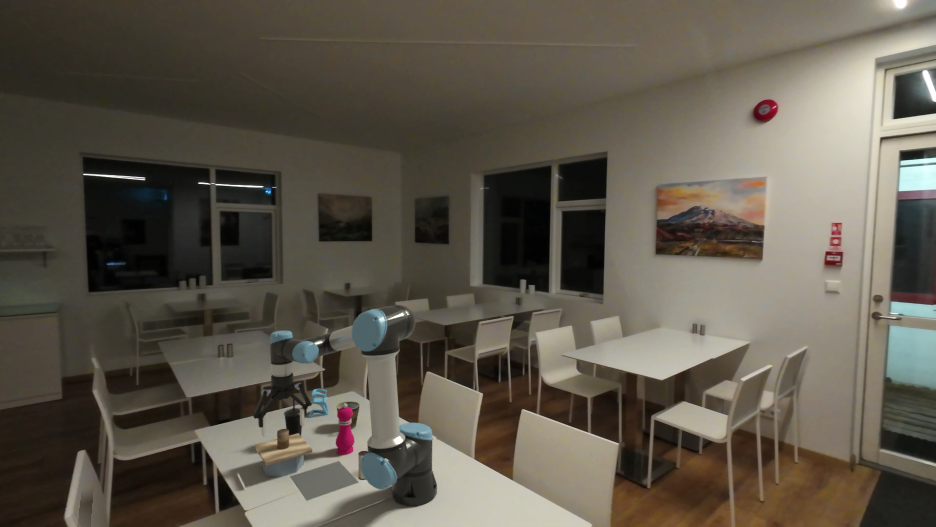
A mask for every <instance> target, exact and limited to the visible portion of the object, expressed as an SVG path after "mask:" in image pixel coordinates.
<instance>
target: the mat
mask: <svg viewBox="0 0 936 527" xmlns="http://www.w3.org/2000/svg"><path fill="white" fill-rule="evenodd" d="M289 478H290V479H291V480H292V481H293V483H294V485H295V486H296V488H298V490H299V491H300V493H301V494H302V496H303V497H304V499H305V500H306V501H311V500H313V499H315V498H318V497H322V496H324V495H327V494H330V493H333V492H336V491H338V490H341V489H345V488H347V487H350V486H353V485H355V484H358V483H359V481H358V480H357V479H356V477H355V476H354V475H353V474H352V473H351V472H350V471H349V470H348V469H347V468H346V467H345V466H344V465H343V464H342V463H341V461H340V460H337V461H335V462H331V463H329V464H325V465H321V466H318V467H315V468H313V469H310V470H306V471H303V472H299V473H295V474H293V475H291V476H289Z"/></svg>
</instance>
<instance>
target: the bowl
mask: <svg viewBox="0 0 936 527" xmlns="http://www.w3.org/2000/svg"><path fill="white" fill-rule="evenodd" d="M304 464H305V455H302V456H298V457H295V458H291V459H288V460H284V461H281V462H278V463H274V464H271V465H267V466H266V465H265V464H264V462H263V461H262V471H263V472H264V473H265V476H267V477H277V478H282V477H285V476H289V475H292V474H297V473H298V471H299V470H300V469H301V468H302V467H303V466H304Z"/></svg>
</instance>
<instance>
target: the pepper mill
mask: <svg viewBox="0 0 936 527" xmlns="http://www.w3.org/2000/svg"><path fill="white" fill-rule="evenodd" d="M336 412H337V411H336ZM352 415H353V411H352V409H351V408H350V407H347V404H346V403H345V404H343V407H342V408H340V409H339V410H338V412H337V414H336V416H337V419H338V420H337V421H338V425H339V431H338V433H337V436H336V439H335V446H336V447H337V448H336V453H337V454H338V455H340V456H347V455H350V454H352V453H353V452H354V444H355V437H354V433H353V432H352V429H351V428H350V424H351V422H352V421H351V420H352V419H351V417H352Z"/></svg>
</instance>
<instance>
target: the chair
mask: <svg viewBox="0 0 936 527" xmlns="http://www.w3.org/2000/svg"><path fill="white" fill-rule="evenodd" d="M323 392H324V393H323ZM327 392H328V390H327V389H323V388H314V389H313V390H312V391H311V397H312V400H311V401H310V402H311V403H312V405H318V406H320V407H321V409H317V408H314V409H313V408H312V409H311V411H310V413H309V415H308V417H309V418H317V417H322V416H328V415H329V414H330V410H329V408H328V404H327V400H328V396H327ZM321 396H322V397H321ZM314 411H315V414H313V413H314ZM317 412H318V413H317ZM322 412H323V413H322Z"/></svg>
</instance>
